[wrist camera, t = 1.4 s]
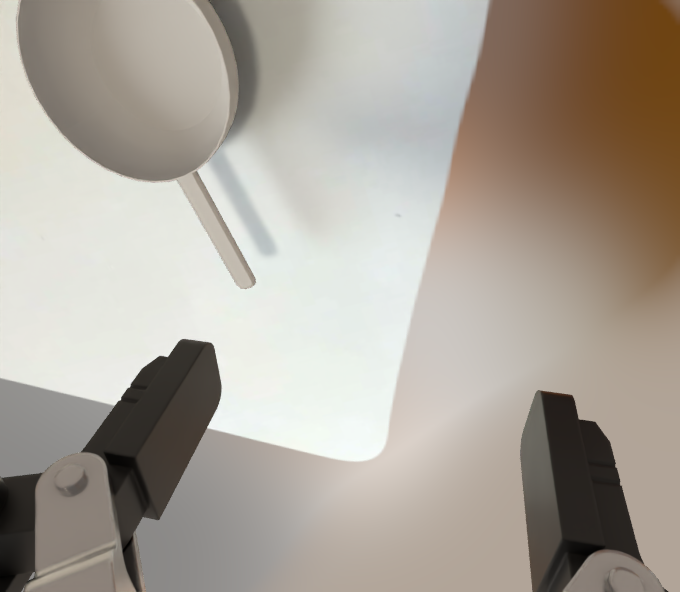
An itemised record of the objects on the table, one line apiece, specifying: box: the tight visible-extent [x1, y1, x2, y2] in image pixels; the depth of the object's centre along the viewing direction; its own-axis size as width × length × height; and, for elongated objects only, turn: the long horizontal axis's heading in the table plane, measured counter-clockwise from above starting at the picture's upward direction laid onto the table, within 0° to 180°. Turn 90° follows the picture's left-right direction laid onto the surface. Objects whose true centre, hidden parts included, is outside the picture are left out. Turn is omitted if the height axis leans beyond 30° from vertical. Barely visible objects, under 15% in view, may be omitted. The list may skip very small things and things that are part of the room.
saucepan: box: [16, 0, 256, 289], centre depth 28 cm, size 11×18×4 cm, turn 24°
